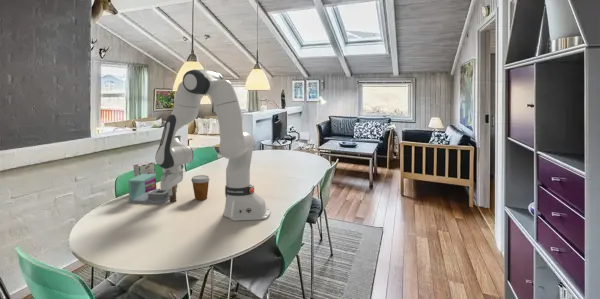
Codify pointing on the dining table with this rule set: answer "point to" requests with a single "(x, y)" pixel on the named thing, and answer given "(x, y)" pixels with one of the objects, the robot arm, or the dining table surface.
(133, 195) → the socket station
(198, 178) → the disposable coffee cup
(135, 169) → the candy bar box
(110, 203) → the dining table surface
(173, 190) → the walnut dowel
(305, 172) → the dining table surface
